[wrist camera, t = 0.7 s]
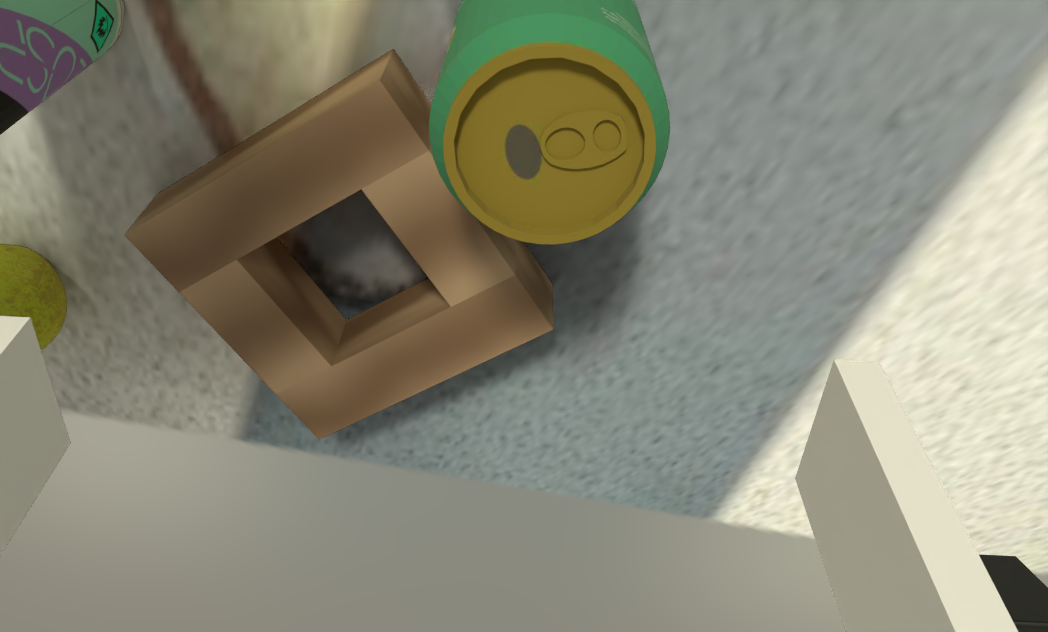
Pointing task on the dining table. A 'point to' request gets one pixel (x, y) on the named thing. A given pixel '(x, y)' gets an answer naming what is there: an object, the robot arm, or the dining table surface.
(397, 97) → the hole block
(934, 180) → the dining table surface
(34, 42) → the spray can
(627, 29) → the beverage can
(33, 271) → the fruit
